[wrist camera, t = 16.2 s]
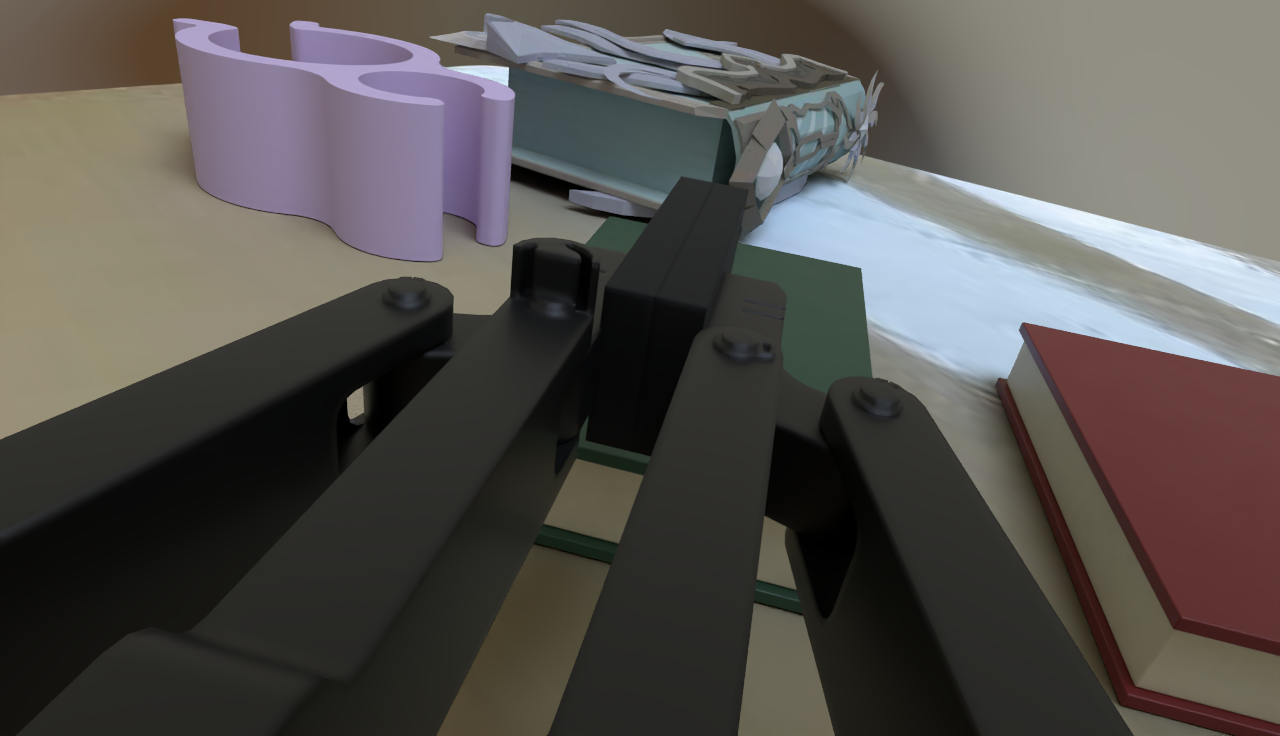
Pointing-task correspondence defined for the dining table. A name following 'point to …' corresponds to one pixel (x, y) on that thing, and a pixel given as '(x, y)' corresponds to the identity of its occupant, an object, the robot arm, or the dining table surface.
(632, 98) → the ornate book
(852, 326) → the green book
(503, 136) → the clip
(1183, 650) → the burgundy book
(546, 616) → the dining table surface
